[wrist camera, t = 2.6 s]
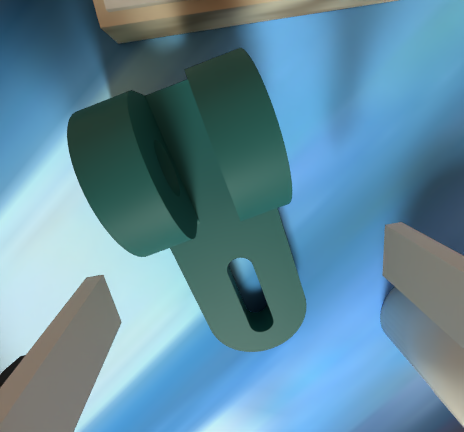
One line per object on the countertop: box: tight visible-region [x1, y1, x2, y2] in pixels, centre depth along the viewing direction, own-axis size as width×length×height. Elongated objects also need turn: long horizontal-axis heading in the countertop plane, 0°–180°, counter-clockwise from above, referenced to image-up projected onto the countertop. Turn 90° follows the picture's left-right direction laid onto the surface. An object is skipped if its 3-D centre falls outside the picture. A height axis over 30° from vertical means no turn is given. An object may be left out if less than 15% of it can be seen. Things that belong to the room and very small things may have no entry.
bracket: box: [67, 48, 306, 352], centre depth 14 cm, size 18×7×8 cm, turn 20°
